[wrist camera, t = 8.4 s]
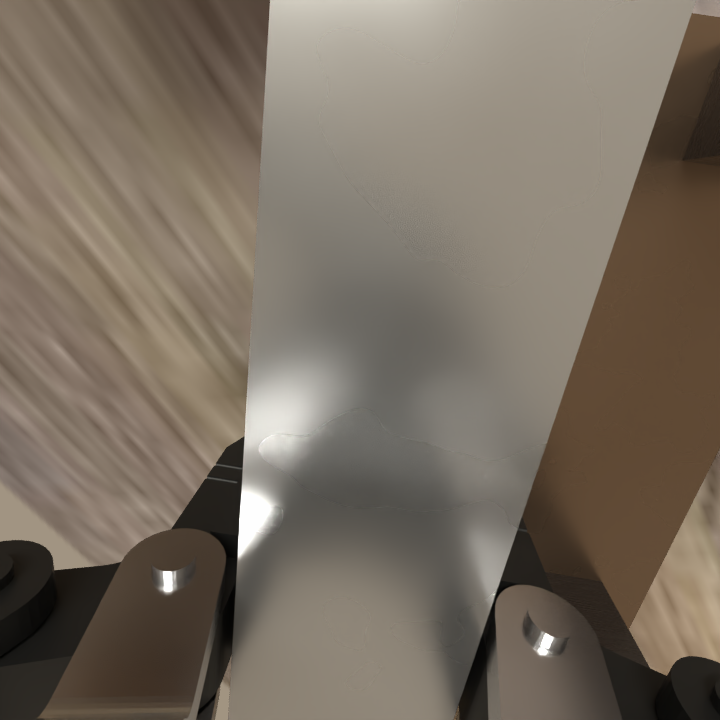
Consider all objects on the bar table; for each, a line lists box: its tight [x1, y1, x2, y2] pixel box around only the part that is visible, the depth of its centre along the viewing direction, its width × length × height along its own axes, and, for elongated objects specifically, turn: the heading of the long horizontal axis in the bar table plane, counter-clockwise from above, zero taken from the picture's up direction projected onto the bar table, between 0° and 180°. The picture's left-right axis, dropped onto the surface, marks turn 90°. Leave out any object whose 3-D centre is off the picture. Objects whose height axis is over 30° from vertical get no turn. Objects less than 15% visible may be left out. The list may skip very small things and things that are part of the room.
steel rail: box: [228, 0, 696, 720], centre depth 7 cm, size 3×21×3 cm, turn 172°
